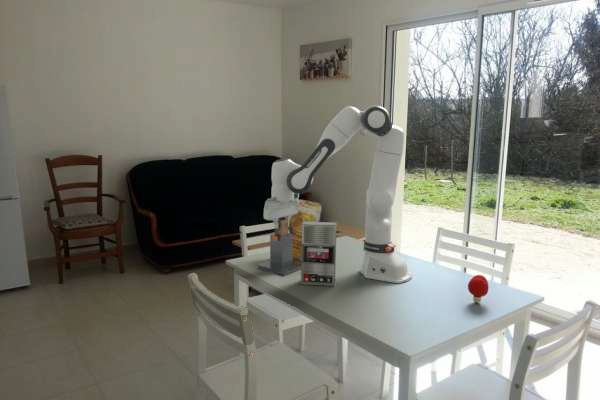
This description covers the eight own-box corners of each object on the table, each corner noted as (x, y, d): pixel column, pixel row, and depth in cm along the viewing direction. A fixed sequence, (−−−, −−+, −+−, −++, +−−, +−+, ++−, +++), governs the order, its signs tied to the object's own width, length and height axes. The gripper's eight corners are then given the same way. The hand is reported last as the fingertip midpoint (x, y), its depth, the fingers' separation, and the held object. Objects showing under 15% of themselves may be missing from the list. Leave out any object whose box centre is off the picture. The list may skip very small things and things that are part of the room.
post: (288, 263, 207) (288, 220, 204) (281, 266, 204) (282, 222, 200) (280, 261, 210) (280, 218, 206) (274, 264, 206) (274, 220, 203)
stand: (304, 267, 208) (305, 234, 205) (285, 275, 197) (285, 240, 194) (277, 260, 217) (278, 228, 215) (257, 268, 207) (257, 234, 204)
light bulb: (484, 309, 165) (486, 282, 163) (464, 304, 169) (466, 278, 167) (489, 300, 173) (491, 275, 171) (469, 296, 176) (471, 271, 175)
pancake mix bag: (292, 252, 231) (292, 197, 226) (322, 260, 219) (323, 202, 213) (283, 255, 226) (283, 198, 221) (312, 263, 214) (313, 204, 209)
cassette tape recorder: (300, 285, 187) (301, 224, 182) (302, 279, 193) (303, 221, 188) (334, 286, 185) (336, 226, 180) (335, 281, 191) (337, 222, 186)
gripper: (271, 200, 191) (271, 232, 194) (301, 193, 207) (301, 223, 210) (260, 198, 195) (260, 230, 198) (290, 192, 211) (290, 221, 213)
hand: (281, 226), depth 204 cm, fingers closed on post, 4 cm apart
